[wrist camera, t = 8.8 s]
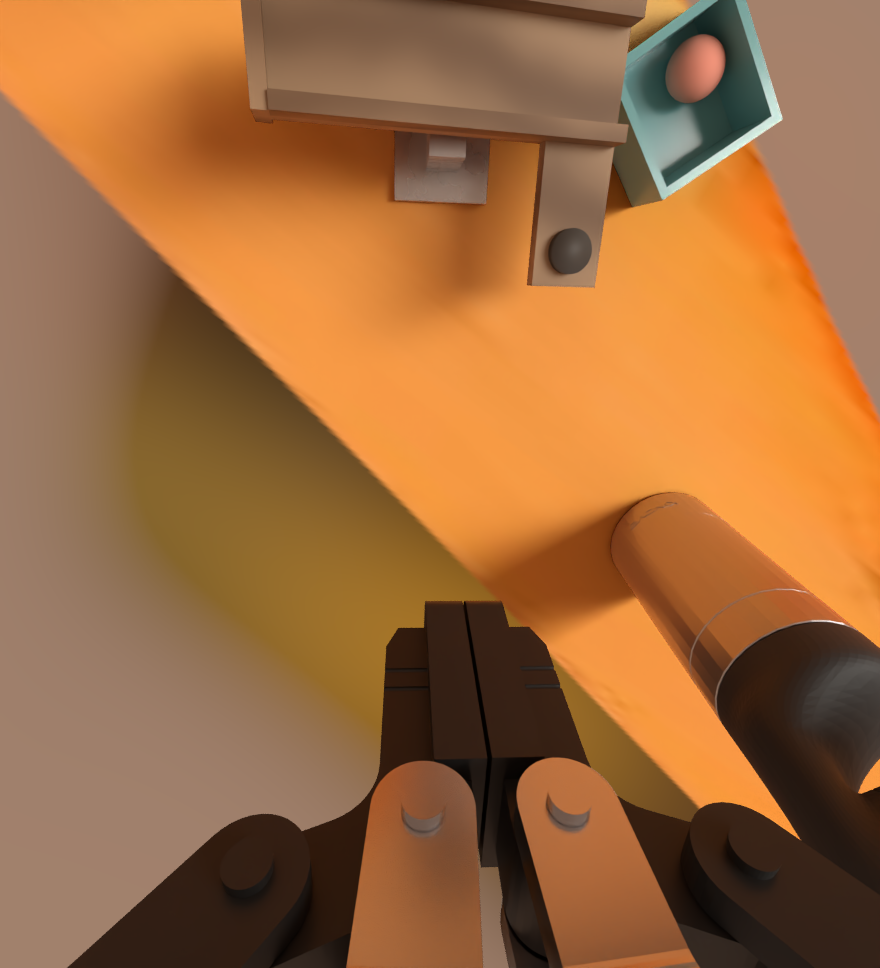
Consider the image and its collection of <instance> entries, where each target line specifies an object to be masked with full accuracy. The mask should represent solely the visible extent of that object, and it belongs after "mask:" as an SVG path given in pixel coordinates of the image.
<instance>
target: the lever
mask: <svg viewBox="0 0 880 968" xmlns="http://www.w3.org/2000/svg"><path fill="white" fill-rule="evenodd" d="M646 4H647V0H241V8H242V20H243V31H244V43H245V54H246V65H247V77H248V88H249V99H250V109H251V111H252V114H253V116H254V118H255V121H256V122H264V123H273V120H282V121H293V122H304V123H315V124H326V125H338V126H349V127H360V128H371V129H382V130H393V131H404V132H415V133H427V134H438V135H449V136H460V137H471V138H482V139H493V140H504V141H516V142H527V143H538V144H540V150H539V161H538V172H537V183H536V193H535V204H534V215H533V225H532V236H531V247H530V258H529V268H528V279H527V285H531V286H560V287H594V288H595V281H596V274H597V267H598V259H599V252H600V245H601V238H602V231H603V224H604V217H605V210H606V203H607V195H608V188H609V181H610V174H611V167H612V160H613V153H614V147H616V146H619V145H621V144H624V143H626V139H627V132H628V126H629V125H626V124H618V117H619V110H620V103H621V96H622V89H623V82H624V75H625V67H626V60H627V53H628V46H629V39H630V32H631V27H632V26H634V25H635V24H636V23H638V22H639V21H640V20H642V19H643V18H644V17H645V10H646Z"/></svg>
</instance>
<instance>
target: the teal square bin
mask: <svg viewBox="0 0 880 968" xmlns="http://www.w3.org/2000/svg"><path fill="white" fill-rule="evenodd" d="M700 34H707V35H711V36H714V37H715V38H717V39H718V40H719V41H720V42H721V44H722V45H723V48H724V50H725V55H726V64H725V69H724V73H723V75H722V78H721V80H720V82H719V83H718V85H717V86H716V88H715V89H714V90H713V91H712V92H711V93H710V94H709V95H708V96H706V97H705V98H703V99H701V100H700V101H697V102H694V103H682V102H679V101H677V100H675V99H674V98H673V97H672V96H671V95H670V93H669V92H668V89H667V86H666V80H665V76H666V69H667V66H668V63H669V60H670V58H671V56H672V55H673V53H674V52H675V50H676V49H677V48H678V47H679V46H680V45H681V44H682V43H683V42H684V41H686V40H687V39H689V38H691V37H693V36H696V35H700ZM781 120H782V115H781V112H780V109H779V105H778V102H777V99H776V96H775V93H774V89H773V86H772V83H771V79H770V76H769V73H768V70H767V66H766V64H765V60H764V57H763V54H762V50H761V47H760V44H759V41H758V37H757V34H756V31H755V28H754V25H753V21H752V18H751V15H750V11H749V8H748V5H747V2H746V0H700V1H699V2H697V3H696V4H695V5H693V6H692V7H691V8H689V9H688V10H686V11H685V12H684V13H682V14H681V15H680V16H678V17H677V18H676V19H674V20H673V21H671V22H670V23H669V24H667V25H666V26H665V27H663V28H662V29H660V30H659V31H658V32H656V33H655V34H654V35H652V36H651V37H650V38H648V39H647V40H645V41H644V42H643V43H641V44H640V45H639V46H637V47H636V48H635V49H633V50H632V51H630V52H629V53H628V54H627V60H626V67H625V75H624V82H623V89H622V96H621V103H620V110H619V117H618V124H626V125H629V126H628V132H627V139H626V143H624V144H621V145H619V146H616V147H614V153H613V160H612V162H613V164H614V166H615V169H616V171H617V173H618V176H619V178H620V180H621V182H622V185H623V187H624V189H625V192H626V194H627V196H628V199H629V201H630V203H631V205H632V207H636V206H640V205H644V204H649V203H653V202H657V201H662V200H664V199H665V198H667V197H668V196H670V195H671V194H673V193H674V192H676V191H677V190H679V189H680V188H681V187H683V186H684V185H686V184H687V183H689V182H690V181H692V180H693V179H695V178H696V177H698V176H699V175H701V174H702V173H704V172H705V171H707V170H708V169H710V168H711V167H713V166H714V165H716V164H717V163H719V162H720V161H722V160H723V159H725V158H726V157H728V156H729V155H731V154H732V153H734V152H735V151H737V150H738V149H740V148H741V147H743V146H744V145H745V144H747V143H748V142H750V141H751V140H753V139H754V138H756V137H757V136H759V135H760V134H762V133H763V132H765V131H766V130H768V129H769V128H771V127H772V126H774V125H775V124H777V123H778V122H780V121H781Z"/></svg>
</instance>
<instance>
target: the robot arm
mask: <svg viewBox="0 0 880 968" xmlns="http://www.w3.org/2000/svg"><path fill="white" fill-rule="evenodd" d="M611 555H612V559H613V562H614V564H615V566H616V567H617V569H618V570H619V572H620V573H621V575H622V576H623V578H624V579H625V581H626V582H627V584H628V585H629V587H630V588H631V590H632V592H633V593H634V595H635V596H636V598H637V599H638V601H639V602H640V603H641V605H642V606H643V608H644V609H645V611H646V612H647V614H648V615H649V617H650V618H651V620H652V621H653V623H654V624H655V626H656V627H657V629H658V630H659V632H660V633H661V634H662V636H663V637H664V639H665V640H666V642H667V643H668V645H669V646H670V648H671V649H672V651H673V652H674V654H675V655H676V657H677V658H678V660H679V661H680V663H681V664H682V665H683V667H684V668H685V670H686V671H687V673H688V674H689V676H690V677H691V679H692V680H693V682H694V683H695V684H696V686H697V687H698V689H699V690H700V692H701V693H702V695H703V696H704V698H705V699H706V700H707V702H708V703H709V705H710V706H711V708H712V709H713V711H714V712H715V714H716V715H717V717H718V718H719V720H720V721H721V722H722V724H723V726H724V727H725V729H726V730H727V731H728V733H729V734H730V736H731V737H732V739H733V740H734V741H735V743H736V744H737V746H738V747H739V748H740V750H741V751H742V753H743V754H744V755H745V757H746V758H747V760H748V761H749V763H750V764H751V765H752V767H753V768H754V770H755V771H756V773H757V774H758V776H759V777H760V778H761V780H762V781H763V783H764V784H765V786H766V787H767V789H768V790H769V792H770V793H771V795H772V796H773V798H774V799H775V801H776V802H777V804H778V805H779V807H780V808H781V810H782V811H783V813H784V814H785V816H786V817H787V819H788V820H789V822H790V823H791V825H792V827H793V828H794V830H795V831H796V833H797V835H798V836H799V838H800V839H801V840H799V839H798V838H796V837H795V836H793V835H792V834H790V833H789V832H788V831H786V830H785V829H783V828H782V827H780V826H779V825H777V824H776V823H775V822H773V821H772V820H770V819H768V818H767V817H765V816H764V815H762V814H760V813H758V812H756V811H754V810H752V809H750V808H747V807H744V806H741V805H737V804H733V803H724V802H720V803H712V804H709V805H706V806H704V807H702V808H701V809H699V810H698V811H697V813H696V814H695V815H694V817H693V819H692V821H691V822H687V821H684V820H680V819H677V818H673V817H669V816H666V815H663V814H659V813H656V812H652V811H649V810H645V809H643V808H640V807H637V806H635V805H633V804H631V803H629V802H626V801H625V800H623V799H622V798H620V797H618V796H617V795H616V794H615V792H614V790H613V788H612V787H611V786H610V785H609V783H608V782H607V781H606V780H605V779H604V778H603V777H602V776H601V775H600V774H599V773H597V772H596V771H595V770H593V769H592V768H591V767H590V765H589V762H588V760H587V758H586V755H585V752H584V749H583V747H582V744H581V741H580V739H579V735H578V733H577V730H576V727H575V724H574V721H573V719H572V716H571V713H570V710H569V708H568V705H567V702H566V700H565V696H564V694H563V691H562V689H560V682H559V680H558V677H557V674H556V671H555V670H554V666H553V663H552V660H551V657H550V655H549V652H548V649H547V646H546V644H545V643H544V642H543V641H542V640H541V639H540V638H539V637H538V636H537V635H536V634H535V633H534V632H533V631H532V630H531V629H530V627H509V625H508V621H507V618H506V614H505V611H504V607H503V604H502V602H501V601H464V604H463V603H462V601H426V602H425V618H424V619H425V620H424V628H398V630H397V631H396V633H395V634H394V636H393V637H392V639H391V640H390V642H389V643H388V645H387V646H386V663H385V681H384V682H385V683H384V699H383V700H384V701H383V718H382V735H381V754H380V767H379V773H378V776H377V779H376V782H375V784H374V786H373V788H372V789H371V791H370V792H369V794H368V795H367V796H366V797H365V799H364V800H363V801H362V802H361V803H360V804H359V805H357V806H356V807H355V808H354V809H353V810H351V811H350V812H348V813H346V814H345V815H343V816H341V817H339V818H337V819H334V820H332V821H329V822H326V823H324V824H321V825H319V826H315V827H313V828H310V829H307V830H304V831H301V830H300V829H299V828H298V827H297V826H296V825H295V824H294V823H293V822H291V821H290V820H288V819H286V818H284V817H281V816H277V815H273V814H258V815H252V816H248V817H245V818H242V819H240V820H237V821H235V822H233V823H231V824H229V825H228V826H226V827H224V828H223V829H221V830H220V831H219V832H218V833H216V834H215V835H214V836H213V837H211V838H210V839H209V840H208V841H207V842H206V843H205V844H204V845H203V846H202V847H200V848H199V849H198V850H197V851H196V852H195V853H194V854H193V855H192V856H191V857H190V858H188V859H187V860H186V861H185V862H184V863H183V864H182V865H180V866H179V867H178V868H177V869H176V870H175V871H174V872H173V873H172V874H171V875H170V876H168V877H167V878H166V879H165V880H164V881H163V882H162V883H161V884H160V885H158V886H157V887H156V888H155V889H154V890H153V891H152V892H151V893H150V894H148V895H147V896H146V897H145V898H144V899H143V900H142V901H141V902H140V903H138V904H137V905H136V906H135V907H134V908H133V909H132V910H131V911H130V912H128V913H127V914H126V915H125V916H124V917H123V918H122V919H121V920H120V921H118V922H117V923H116V924H115V925H114V926H113V927H112V928H111V929H110V930H109V931H107V932H106V933H105V934H104V935H103V936H102V937H101V938H100V939H99V940H98V941H96V942H95V943H94V944H93V945H92V946H91V947H90V948H89V949H87V950H86V952H84V953H83V954H82V955H81V956H80V957H79V958H78V959H76V960H75V961H74V962H73V963H72V964H71V965H70V966H69V967H68V968H483V951H482V930H481V907H480V886H479V864H478V849H479V855H480V863H481V867H498V869H499V876H500V882H501V889H502V896H503V898H502V905H501V913H500V925H501V932H502V937H503V942H504V947H505V952H506V957H507V962H508V966H509V968H880V787H877V788H875V789H873V790H870V791H868V792H865V793H862V794H859V793H858V791H859V789H860V786H861V784H862V782H863V780H864V779H865V777H866V775H867V774H868V772H869V771H870V769H871V768H872V767H873V766H874V764H875V763H876V762H877V761H878V760H879V759H880V648H879V647H877V646H876V645H875V644H874V643H873V642H871V641H870V640H869V639H868V638H867V637H865V636H864V635H863V634H861V633H860V632H859V631H858V630H856V629H855V628H854V627H853V626H852V625H850V624H849V623H848V622H847V621H846V620H844V619H843V618H842V617H841V616H839V615H838V614H837V613H836V612H835V611H833V610H832V609H831V608H830V607H829V606H827V605H826V604H825V603H824V602H822V601H821V600H820V599H819V598H817V597H816V596H815V595H814V594H812V593H811V592H810V591H809V590H808V589H806V588H805V587H804V586H803V585H801V584H800V583H799V582H798V581H797V580H795V579H794V578H793V577H792V576H791V575H789V574H788V573H787V572H786V571H785V570H783V569H782V568H781V567H780V566H779V565H777V564H776V563H775V562H774V561H772V560H771V559H770V558H769V557H768V556H766V555H765V554H764V553H763V552H762V551H760V550H759V549H758V548H757V547H756V546H754V545H753V544H752V543H751V542H750V541H748V540H747V539H746V538H745V537H744V536H742V535H741V534H740V533H739V532H737V531H736V530H735V529H734V528H733V527H731V526H730V525H729V524H728V523H727V522H726V521H724V520H723V519H722V518H721V517H720V516H718V515H717V514H716V513H715V512H713V511H712V510H711V509H710V508H709V507H707V506H706V505H705V504H704V503H702V502H701V501H699V500H698V499H697V498H695V497H692V496H690V495H687V494H682V493H663V494H659V495H655V496H652V497H649V498H647V499H645V500H643V501H641V502H639V503H638V504H637V505H635V506H634V507H632V508H631V509H630V510H629V511H628V512H627V513H626V514H625V515H624V516H623V517H622V519H621V520H620V522H619V523H618V524H617V526H616V529H615V531H614V533H613V536H612V541H611Z"/></svg>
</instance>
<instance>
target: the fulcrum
mask: <svg viewBox="0 0 880 968" xmlns="http://www.w3.org/2000/svg"><path fill="white" fill-rule="evenodd" d="M489 149H490V139H482V138H471V137H460V136H449V135H438V134H427V133H415V132H404V131H395V201H413V202H435V203H457V204H479V205H485V204H486V198H487V181H488V165H489Z"/></svg>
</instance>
